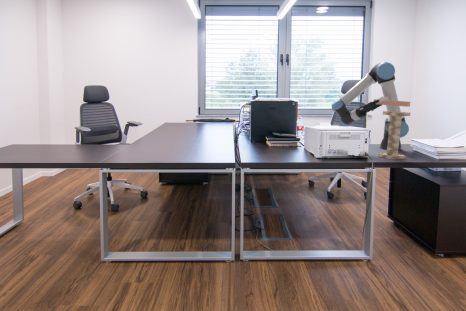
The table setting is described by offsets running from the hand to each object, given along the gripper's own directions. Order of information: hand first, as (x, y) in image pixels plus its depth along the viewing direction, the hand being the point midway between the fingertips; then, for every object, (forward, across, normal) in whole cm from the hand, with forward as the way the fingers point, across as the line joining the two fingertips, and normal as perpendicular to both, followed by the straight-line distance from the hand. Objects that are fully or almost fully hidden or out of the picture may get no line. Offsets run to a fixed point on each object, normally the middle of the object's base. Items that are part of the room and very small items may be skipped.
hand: (385, 98), depth 278 cm
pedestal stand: (-11, 0, -38) cm, 39 cm away
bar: (+2, 0, -6) cm, 6 cm away
